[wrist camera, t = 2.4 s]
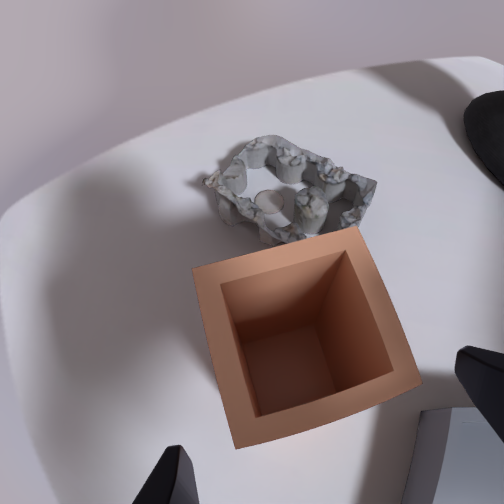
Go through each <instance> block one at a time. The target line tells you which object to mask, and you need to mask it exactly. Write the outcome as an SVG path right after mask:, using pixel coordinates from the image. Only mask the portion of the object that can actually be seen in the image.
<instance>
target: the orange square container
mask: <svg viewBox="0 0 504 504" xmlns="http://www.w3.org/2000/svg"><path fill="white" fill-rule="evenodd" d="M192 272H193V277H194V282H195V287H196V292H197V297H198V301H199V306H200V311H201V315H202V320H203V324H204V329H205V333H206V338H207V342H208V346H209V350H210V355H211V359H212V363H213V367H214V371H215V375H216V379H217V383H218V387H219V391H220V395H221V399H222V402H223V406H224V410H225V414H226V417H227V421H228V425H229V428H230V432H231V435H232V439H233V442H234V446H235V449H240V448H244V447H249V446H253V445H257V444H261V443H265V442H269V441H273V440H276V439H280V438H284V437H287V436H291V435H294V434H297V433H301V432H304V431H307V430H310V429H313V428H316V427H319V426H322V425H325V424H328V423H331V422H334V421H337V420H340V419H342V418H345V417H348V416H350V415H353V414H356V413H358V412H361V411H363V410H366V409H368V408H371V407H373V406H375V405H378V404H380V403H382V402H385V401H387V400H389V399H392V398H394V397H396V396H398V395H400V394H403V393H405V392H407V391H409V390H411V389H413V388H415V387H417V386H419V385H421V384H423V383H422V380H421V377H420V374H419V371H418V368H417V365H416V363H415V360H414V357H413V354H412V352H411V349H410V346H409V344H408V341H407V338H406V336H405V333H404V331H403V328H402V326H401V323H400V321H399V318H398V316H397V313H396V311H395V308H394V306H393V304H392V301H391V299H390V297H389V294H388V292H387V290H386V287H385V285H384V283H383V280H382V278H381V276H380V274H379V271H378V269H377V267H376V265H375V263H374V261H373V258H372V256H371V254H370V252H369V250H368V248H367V246H366V244H365V241H364V239H363V237H362V235H361V233H360V231H359V229H358V227H357V226H353V227H350V228H346V229H342V230H338V231H334V232H330V233H327V234H323V235H319V236H315V237H311V238H307V239H304V240H300V241H296V242H292V243H288V244H284V245H281V246H277V247H273V248H269V249H265V250H261V251H257V252H254V253H250V254H246V255H242V256H238V257H234V258H231V259H227V260H223V261H219V262H215V263H211V264H207V265H204V266H200V267H196V268H192Z"/></svg>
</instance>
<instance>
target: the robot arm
mask: <svg viewBox="0 0 504 504" xmlns="http://www.w3.org/2000/svg"><path fill="white" fill-rule="evenodd" d="M455 374H456V376H457V378H458V379H459V381H460V382H461V384H462V386H463V387H464V389H465V390H466V392H467V393H468V395H469V397H470V398H471V400H472V402H473V403H474V405H475V406H476V407H477V409H478V410H479V411H480V413H481V414H482V415H483V417H484V418H485V419H486V421H487V422H488V423H489V424H490V426H491V427H492V428H493V430H494V431H495V432H496V434H497V435H498V436H499V438H500V439H501V440H502V442H503V443H504V354H503V353H498V352H494V351H490V350H485V349H481V348H477V347H473V346H465V347H463V348H462V349H460V350H459V351H458V352H457V356H456V363H455ZM132 504H199V499H198V493H197V488H196V482H195V476H194V469H193V464H192V461H191V459H190V458H189V456H188V455H187V453H186V451H185V450H184V448H183V447H182V446H181V445H173V446H168V447H167V448H166V449H165V451H164V453H163V454H162V456H161V458H160V459H159V461H158V463H157V464H156V466H155V467H154V469H153V471H152V472H151V474H150V476H149V477H148V479H147V480H146V482H145V484H144V485H143V487H142V488H141V490H140V492H139V493H138V495H137V496H136V498H135V500H134V501H133V503H132Z"/></svg>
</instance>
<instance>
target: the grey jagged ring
mask: <svg viewBox="0 0 504 504" xmlns="http://www.w3.org/2000/svg"><path fill="white" fill-rule="evenodd" d="M267 164H269V165H272V166H274V167H276V176H277V178H278V179H279V180H280V181H281V182H283V183H285V184H296V183H299V182H301V181H302V180H306V181H309V182H311V183H313V184H314V186H312V187H310V188H304V189H302V190H300V191H299V192H298V193H297V194H296V195H295V208H294V219H293V221H294V223H293V222H292V223H291V224H289V225H288V226H286V227H280V228H277V229H275V230H274V231H271V230H270V229H269V228H268V227H267V226H266V225H265V220H264V213H265V214H274V213H277V212H279V211H280V210H281V209H282V208H283V206H284V199H283V197H282V195H280V194H279V193H278V192H277V191H275V190H265V191H262V192H260V193H259V194H258V195H257V196H256V198H255V204H254V203H253V202H251V199H250V198H242V197H238V196H237V195H240V194H241V193H243V192H244V191H245V189H246V187H247V175H246V170H247V169H259V168H262V167H264V166H265V165H267ZM205 184H206V185H207V186H208V187H209V188H214V189H215V195H216V200H217V204H218V205H219V214H220V216H221V218H222V220H223V222H225V223H226V224H228V225H230V226H234V225H235V224H237V223H240V222H243V221H248V222H252V223H255V224H256V225H258V227H259V232H260V241H261V242H263V243H266V244H270V245H272V246H275V245H276V244H278V243H281V242H285V243H287V244H288V243H292V242H296V241H300V240H304V239H307V238H306V236H305V234H316V233H318V232H319V231H321V230H322V229H323V227H324V224H325V220H326V216H327V213H328V210H329V204H328V202H335V201H338V200H339V199H341V198H345V199H347V200H349V201H351V202H353V207H352V209H351V210H350V211H345V212H343V213H342V214H341V216H340V222H339V226H338V229H337V231H338V230H342V229H346V228H350V227H353V226H357V227H359V225H360V223H361V220H362V218H363V216H364V214H365V211H366V209H367V207H368V206H370V204H371V201H372V198H373V195H374V192H375V189H376V185H377V182H376V181H375V180H372V179H368V178H365V177H362V176H360V175H357V174H350V173H348V172H346V171H345V170H344V169H343V167H339V168H338V167H337V166H335V165H334V163H333V162H332V161H331V159H329V158H325V157H321V156H318V155H316V154H314V153H312V152H310V151H308V150H304V149H301V148H299V147H297V146H296V145H294V144H292V143H291V142H289V141H288V140H286V139H284V138H283V137H280V136H277V135H267V136H262V137H258V138H255V139H253V140H252V141H251V142H250V143H249V144H247V145H245V147H244V149H243V150H242V151H241V152H240V153H239V154H238V155H235V156H234V157H233V159H232V161H231V165H230V167H228V168H227V169H226V171H225V172H224V173H221V170H218V171H216V172H215V173H214V174H213V175H212V176H211V177H210V179H208V178H205V179H203V182H202V185H205ZM304 233H305V234H304Z"/></svg>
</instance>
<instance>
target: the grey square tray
mask: <svg viewBox="0 0 504 504" xmlns="http://www.w3.org/2000/svg"><path fill="white" fill-rule="evenodd" d="M401 504H504V443H503V442H502V440H501V439H500V438H499V436H498V435H497V434H496V432H495V431H494V430H493V428H492V427H491V426H490V424H489V423H488V422H487V421H486V419H485V418H484V417H483V415H482V414H481V413H480V411H479V410H478V409H477V407H451V408H444V409H436V410H427V411H421V414H420V421H419V427H418V433H417V438H416V443H415V448H414V453H413V458H412V462H411V467H410V471H409V475H408V479H407V483H406V487H405V491H404V494H403V498H402V502H401Z"/></svg>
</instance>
